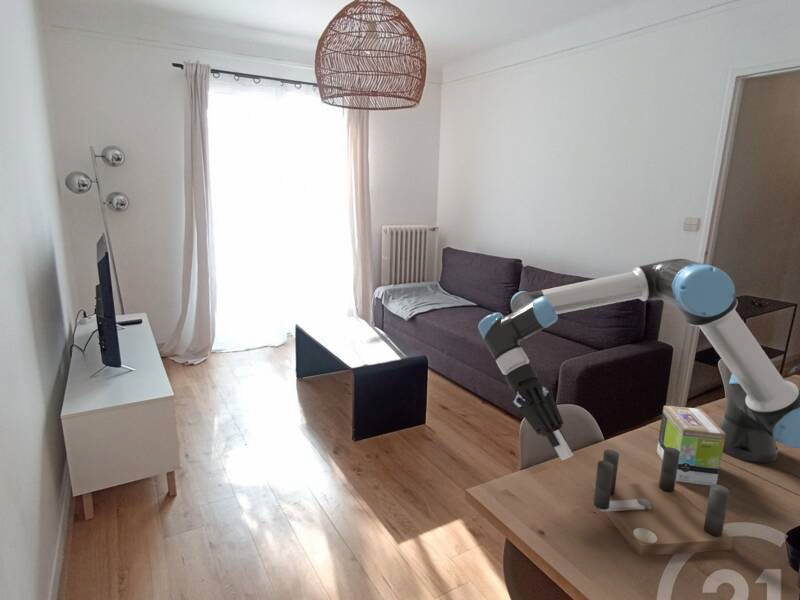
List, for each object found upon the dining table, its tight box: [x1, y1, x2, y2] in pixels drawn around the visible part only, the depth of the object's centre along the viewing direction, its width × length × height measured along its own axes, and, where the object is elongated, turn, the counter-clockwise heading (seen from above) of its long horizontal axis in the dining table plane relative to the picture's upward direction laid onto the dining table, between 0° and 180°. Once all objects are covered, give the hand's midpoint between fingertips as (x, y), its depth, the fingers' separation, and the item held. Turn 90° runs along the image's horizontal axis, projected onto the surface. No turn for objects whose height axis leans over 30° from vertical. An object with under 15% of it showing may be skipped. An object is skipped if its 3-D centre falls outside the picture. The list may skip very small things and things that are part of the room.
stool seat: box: [590, 447, 734, 557], centre depth 104 cm, size 20×20×12 cm
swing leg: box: [593, 460, 651, 513], centre depth 104 cm, size 13×3×11 cm, turn 95°
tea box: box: [656, 405, 725, 487], centre depth 125 cm, size 15×10×15 cm, turn 168°
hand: (567, 458), depth 110 cm, fingers closed
